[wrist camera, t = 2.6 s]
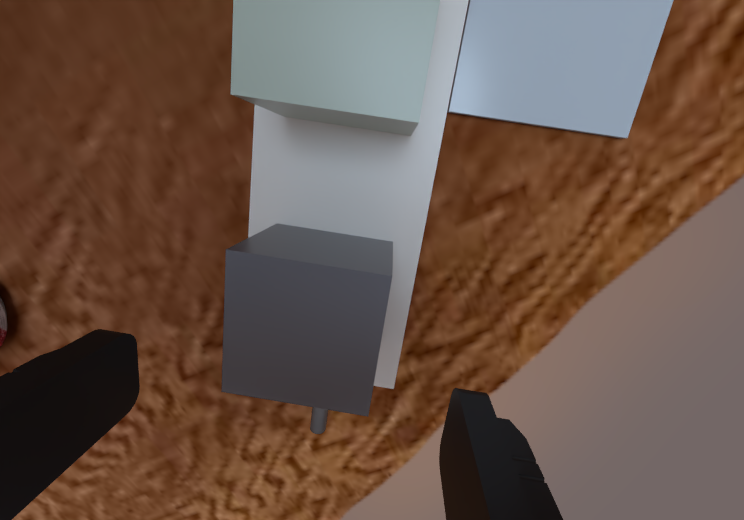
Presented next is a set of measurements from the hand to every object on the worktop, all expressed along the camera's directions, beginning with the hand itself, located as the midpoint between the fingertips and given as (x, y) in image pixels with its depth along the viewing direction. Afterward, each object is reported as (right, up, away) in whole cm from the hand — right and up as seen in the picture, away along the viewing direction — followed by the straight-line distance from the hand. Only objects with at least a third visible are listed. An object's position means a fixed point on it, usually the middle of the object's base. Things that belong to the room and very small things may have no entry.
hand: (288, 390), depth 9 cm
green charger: (+2, +12, +7) cm, 14 cm away
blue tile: (+11, +15, +8) cm, 20 cm away
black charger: (0, +3, +10) cm, 11 cm away
